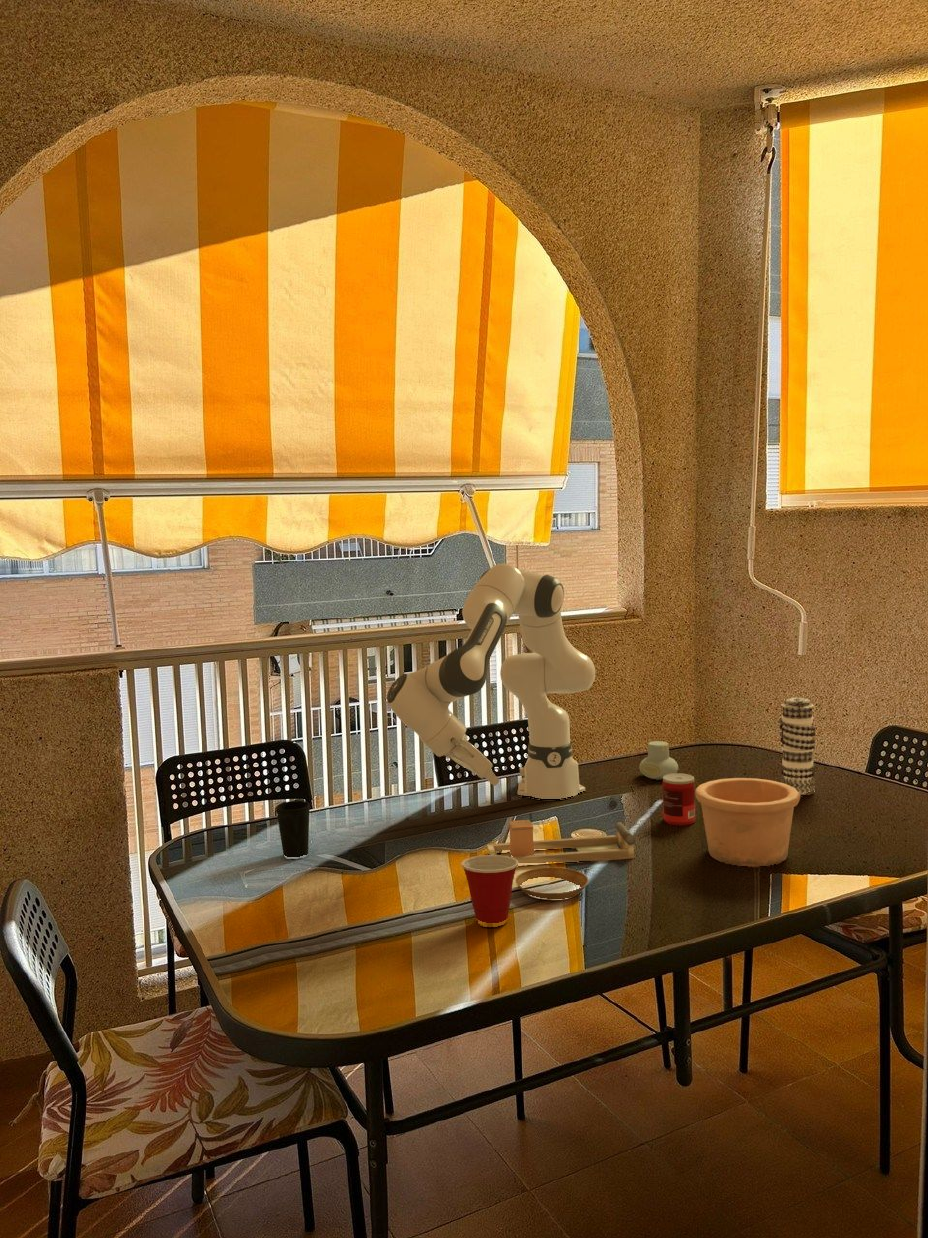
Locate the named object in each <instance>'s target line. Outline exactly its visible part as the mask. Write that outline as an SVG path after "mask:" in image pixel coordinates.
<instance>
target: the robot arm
mask: <svg viewBox="0 0 928 1238" xmlns="http://www.w3.org/2000/svg"><path fill="white" fill-rule="evenodd" d="M564 599H565V590H564V586H563V584H562V583H561V581H560V580H559V579H558V578H557V577H554V576H552V575H549V574H542V573H538V572H535V571H530V570H524V569H522V570H519V569H518V568H517V567H515V566H514V565H512V564H510V563H497V564H496V565H493V566H492V567H490V568H489V569H487V570H486V571H485V572H483V573H482V574H481V576H480V577H479V579H478V581H477V583H476V584H475V585H474V587H473V588H472V590H471V591H470V593H469V594H468V596H467V598H466V600H465V602H464V604H463V607H462V611H461V614H462V618H463V620H464V623H465V625H467V627H468V628H469V629H470V630H471V631H470V632H469V634H468V636H467V638H466V639H465V641H464V643H463V644H462V646H459V647H457V648H455V649H454V650H453V651H450V652H449V653H448V654H447V655H444V656H443V657H441V658H440V659H439V658H438V660H436V661H433V662H432V663H430V664H428V665H426V666H425V667H423V668H420V669H418V670H416V671H413V672H409V673H403V674H401V675H399V676H398V677H397V678H396V679H395V681H394V682H392V684H391V685H390V688H389V689H388V691H387V695H386V702H387V704H388V706H389V708H390V709H391V711H392V712H393V713H394V715H396V717H397V718H398V719H399V720H400V721H401V722H402V723H403V724H404V725H405V726H406V727H407V728H408V729H409V730H410V731H413V732H414V733H416V735H418V737H419V739H420V741H421V742H423V744H424V745H425V746H426V747H427V748H428V749H430V751H432V753H433V754H434V755H436V756H437V757H439V758H440V757H442V756H445V757H446V758H447V759H448V758H449V759H451V760H452V761H454V762H455V763H456V764H458V765H460V766H462V767H463V768H465V769H467V770H468V771H470V772H472V773H474V774H476V776H477V777H478V778H480V779H482V780H483V779H486V780H487V781H488V783H490V784H491V785H492V786H493V787H494V786H495V787H496V786H497V785H498V784H499V783H500V778H499V777H498V776H496V775H495V773H494V772H493V770H492V767H493V763H492V762H491V761H490V759H488V758H487V757H486V756H485V755H484V754H483V753H482V752H481V751H480V750H479V749H477V747H475V746H474V745H473V744H472V743H471V742H469V741H468V739H469V737H468V735H467V734H466V732H467V727H466V725H465V724H464V723H463V722H462V721H461V720H460V719H459V718H458V717H457V716H456V715H455V714H454V713H452V711H451V710H450V709H449V706H450V704H451V703H454V702H455V701H458V700H460V699H462V698H464V697H468V696H471V695H474V694H476V693H478V692H480V691H481V690H482V688H483V687H484V686H485V684H486V681H487V676H488V670H489V669H488V668H489V664H490V660H491V657H492V655H493V653H494V651H495V649H496V647H497V645H498V643H499V640H500V638H501V636H502V634H503V633H504V630H505V628H506V625H507V624H508V622H509V621H510V619H511V617H512V615H516V616H518V621H519V627H520V634H521V640H522V642H523V644H524V645H525V647H526V648H527V649H528V650H529V651H531V652H522V653H518V654H516V653H515V654H512V655H509V656H507V657H505V659H504V660H503V662H502V664H501V666H500V672H499V675H500V679H501V683H502V685H503V686H504V688H505V689H506V690H508V691H509V692H510V693H512V694H513V695H514V696H515V697H516V698H517V699H518V701H519V702H520V703H521V704H522V707H523V708H524V711H525V713H526V717H527V724H528V734H529V742H528V745H527V755H528V758H527V760H526V763H525V765H524V766H523V767H519V776H520V777H521V776H522V777H523V776H524V777H523V778H521V779H522V781H520V782H519V781H518V787H517V788H518V789H517V794H519V795H524V796H532V797H535V798H541V799H560V800H562V799H561V798H566V799H568V798H567V797H571V796H573V797H576V796H577V795H578V793H579V794H581V793H580V792H582V793H584V792H583V791H585V792H586V787H585V786H584V785H582V784H580V775H579V763H578V762H577V761H576V760H575V759H574V758H573V745H572V741H571V735H570V734H571V733H570V732H571V730H570V729H571V725H570V716H569V714H568V712H567V711H566V710H565V709H563V708H562V707H561V706H559V705H557V704H554V703H553V702H551V701H550V700H549V698H548V696H547V694H575V693H580V692H584V691H588V690H589V689H590V688H591V687H592V685H593V684H594V682H595V678H596V667H595V664H594V662H593V660H592V659H591V657H589V656H588V655H587V654H584V653H582V652H581V651H579V650H578V649H577V648H576V647H574V645H573V644H571V642H570V641H569V640H568V638H567V635H566V634H565V629H564V624H563V620H562V611H561V608H562V607H563V606H562V605H563V603H564ZM571 798H572V797H571Z"/></svg>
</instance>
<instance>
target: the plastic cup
mask: <svg viewBox="0 0 928 1238" xmlns="http://www.w3.org/2000/svg"><path fill="white" fill-rule="evenodd" d="M517 866H518V860H516V859H514V858H512V857H511V856H507V855H501V854H496V855H488V854H484V855H477V856H472V857H467V858H465V859H464V860H462V861H461V867H462V868H463V870H464V875H465V876H466V877H465V878H466V881H467V884H468V891H469V895H470V899H471V904H472V908H473V912H474V917H475V919H476V918H477V919H478V920H480V921H482V922H486V923H499V922H502V921H504V920H506V919H507V918H509V910H510V906H511V898H512V890H513V883H514V879H515V874H516V869H517V868H518V867H517Z"/></svg>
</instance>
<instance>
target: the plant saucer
mask: <svg viewBox="0 0 928 1238" xmlns="http://www.w3.org/2000/svg"><path fill="white" fill-rule="evenodd" d="M538 877H555V878H561V879H564V880H567V881H569V882H572V883H574V884H576V885H580V887H581V888H579V889H576V890H573V891H569V892H563V893H540V892H534V891H530V890H527V889H524V888H522V887H521V886H520V885H522V883H523V882H525V881H527V880H528V879H533V878H538ZM515 883H516V885H517V886H518V887H519V889H520V890H521V892H523V891H524V892H525V893H524V894H526V893H527V894H529V895H532V896H536V897H540V898H547V899H565V898H570V897H573V896H575V897H576V896H578V895H579V894H580V893H581V892H582V891H583V890H584V889H585V888H586V886H587V885H588V883H589V877H588V876H587V875H586V874H585V873H583V872H581V871H578V870H576V869H573V868H566V867H554V866H551V867H539V868H533V869H529V870H526V871H524V872H522V873H520V874H518V875H517V876H516V878H515ZM527 894H526V895H527ZM577 894H578V895H577ZM573 898H574V897H573ZM570 899H571V898H570Z"/></svg>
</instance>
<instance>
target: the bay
mask: <svg viewBox="0 0 928 1238" xmlns="http://www.w3.org/2000/svg"><path fill="white" fill-rule="evenodd" d="M614 828H615V830H616V834H612V835H611V834H609V835H598V836H586V837H585V836H584V837H569V838H568V837H567V838H558V839H545V840H533V848H534V849H554V848H572V849H575V850H576V851H570V852H557V853H555V852H554V853H542V854H534V855H528V856H514V857H512V858H514V859H516V860H518V863H546V862H552V863H553V862H577V863H580V862H579V861H591V862H600V861H604V862H605V861H612V860H613V861H614V860H626V859H627V860H628V859H635V843H636V842H637V841H636V838H635V837H634V835H633V834H632V833H631V832H630V830H628V828H627V827H626V826H625V825H624V824H623V822H621V821H618V822H616V823H615V824H614ZM486 848H487V850H488V853H489V855H497V854H496V852H495V851H501V850H510V842H504V843H491V844H487V845H486ZM488 853H487V854H488Z"/></svg>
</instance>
